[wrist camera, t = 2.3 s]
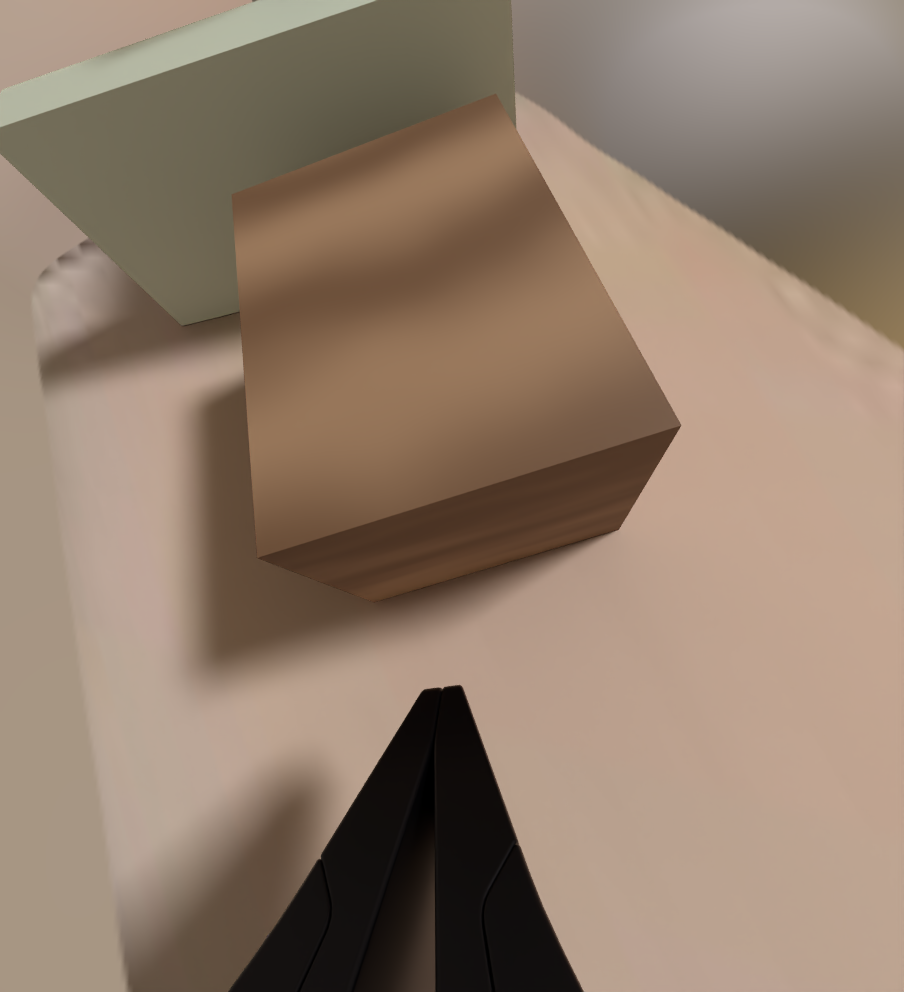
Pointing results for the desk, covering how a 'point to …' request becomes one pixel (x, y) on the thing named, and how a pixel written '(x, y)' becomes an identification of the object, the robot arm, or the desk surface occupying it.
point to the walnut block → (432, 363)
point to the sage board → (238, 121)
